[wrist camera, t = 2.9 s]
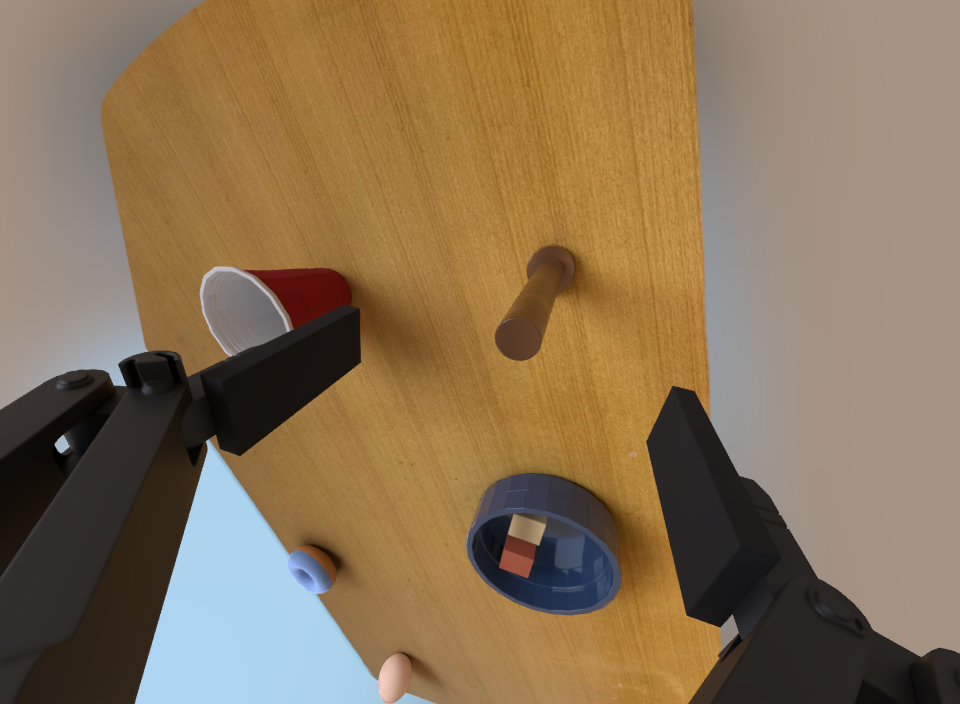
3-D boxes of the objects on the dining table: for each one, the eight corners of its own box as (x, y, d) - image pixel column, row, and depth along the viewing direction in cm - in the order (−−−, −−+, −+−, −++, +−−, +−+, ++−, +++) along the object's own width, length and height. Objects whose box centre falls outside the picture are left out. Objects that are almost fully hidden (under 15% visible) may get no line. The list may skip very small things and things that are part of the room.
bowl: (638, 499, 42) (645, 544, 36) (593, 587, 50) (594, 633, 45) (489, 453, 45) (476, 487, 40) (471, 542, 54) (459, 581, 48)
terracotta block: (538, 533, 48) (534, 560, 44) (532, 551, 50) (527, 578, 46) (510, 523, 49) (503, 549, 45) (505, 541, 50) (498, 567, 47)
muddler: (580, 249, 32) (572, 309, 16) (568, 295, 34) (550, 387, 18) (533, 240, 33) (482, 289, 17) (524, 285, 35) (471, 366, 19)
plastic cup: (276, 257, 42) (170, 280, 31) (347, 235, 38) (254, 253, 27) (314, 340, 45) (231, 385, 35) (382, 327, 42) (312, 374, 31)
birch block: (549, 498, 45) (546, 524, 41) (542, 519, 46) (539, 546, 43) (519, 488, 45) (513, 513, 42) (513, 509, 47) (507, 534, 44)
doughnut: (294, 556, 71) (277, 578, 67) (303, 532, 66) (285, 554, 62) (335, 582, 71) (320, 605, 67) (348, 559, 66) (332, 583, 62)
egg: (423, 665, 75) (406, 714, 69) (399, 663, 78) (381, 709, 71) (408, 646, 74) (389, 693, 67) (384, 645, 76) (364, 690, 69)
